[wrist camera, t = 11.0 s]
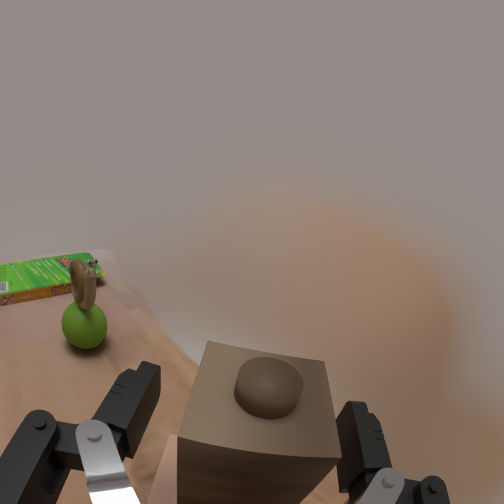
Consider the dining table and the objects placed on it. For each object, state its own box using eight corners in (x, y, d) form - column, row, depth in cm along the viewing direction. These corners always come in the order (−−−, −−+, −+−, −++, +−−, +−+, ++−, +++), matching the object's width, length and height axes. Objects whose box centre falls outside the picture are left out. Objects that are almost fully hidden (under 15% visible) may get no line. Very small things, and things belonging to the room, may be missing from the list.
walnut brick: (177, 522, 10) (177, 420, 6) (192, 462, 14) (210, 323, 10) (262, 535, 10) (353, 442, 6) (266, 474, 14) (331, 345, 10)
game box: (-11, 283, 33) (90, 262, 47) (-12, 316, 27) (107, 287, 41) (-15, 266, 32) (89, 246, 46) (-17, 297, 26) (106, 270, 40)
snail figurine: (80, 370, 25) (65, 265, 21) (59, 336, 28) (47, 240, 24) (121, 354, 29) (118, 254, 25) (96, 324, 32) (92, 233, 28)
